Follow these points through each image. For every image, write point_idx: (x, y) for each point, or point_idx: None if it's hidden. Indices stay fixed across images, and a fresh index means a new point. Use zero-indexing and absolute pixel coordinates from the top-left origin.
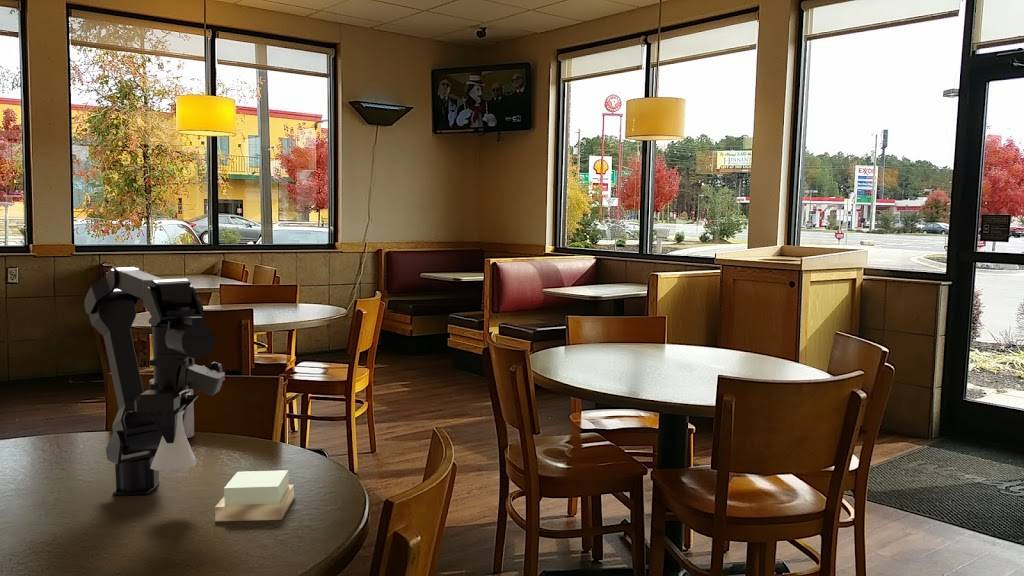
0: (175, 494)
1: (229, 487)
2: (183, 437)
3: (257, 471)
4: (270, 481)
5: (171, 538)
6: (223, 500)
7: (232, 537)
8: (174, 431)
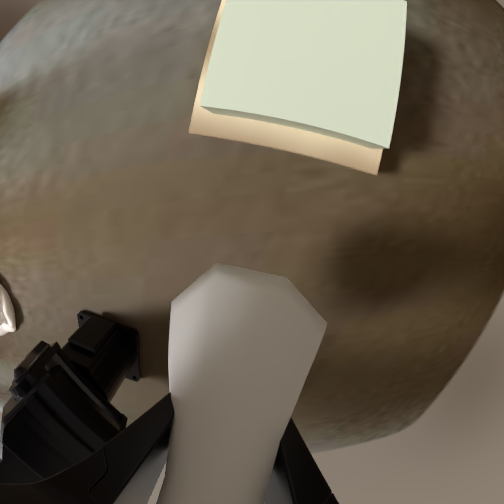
0: (137, 278)
1: (387, 130)
2: (253, 397)
3: (219, 39)
4: (354, 7)
5: (429, 262)
6: (326, 150)
7: (463, 143)
8: (312, 465)
